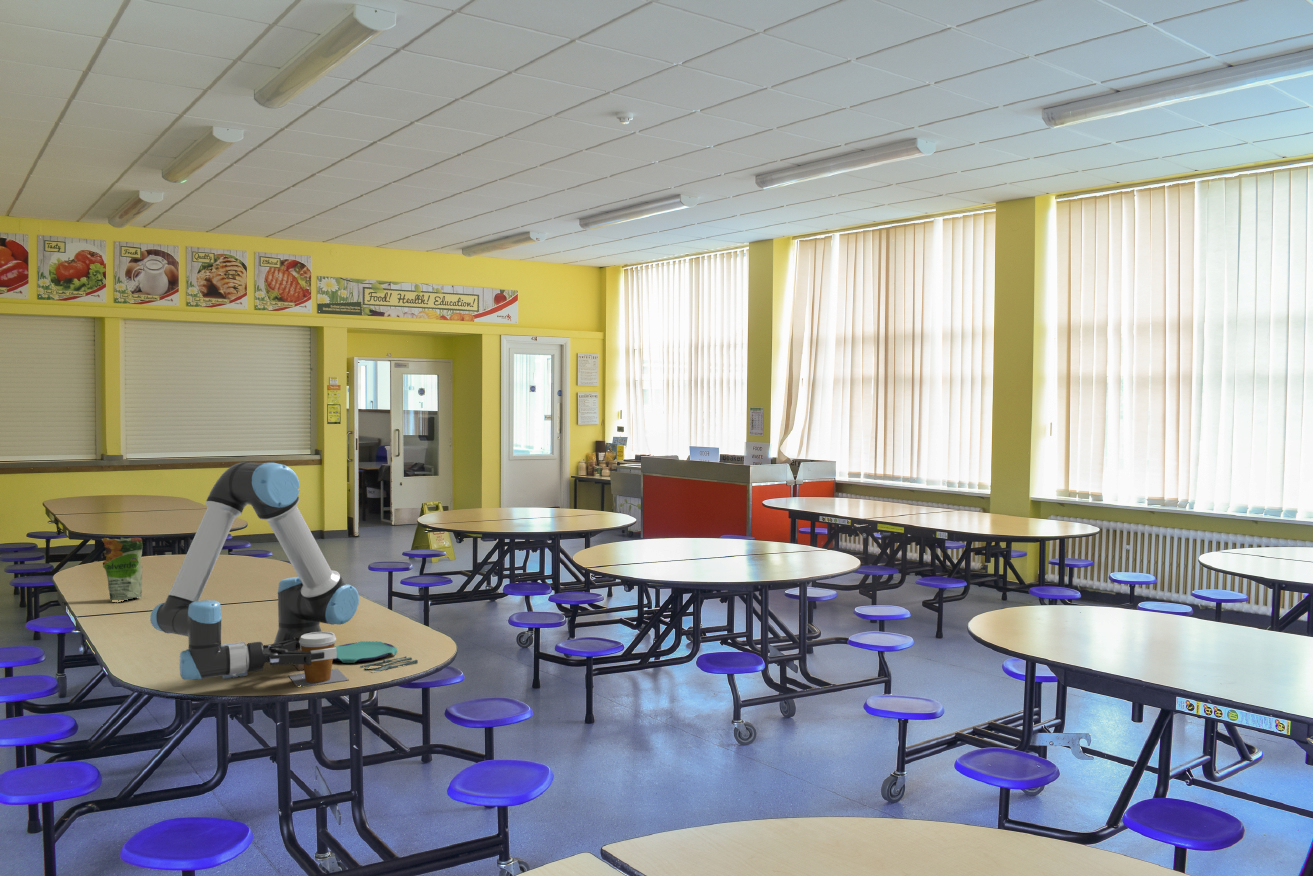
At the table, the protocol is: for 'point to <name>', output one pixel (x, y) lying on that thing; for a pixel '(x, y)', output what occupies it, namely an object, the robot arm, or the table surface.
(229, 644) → the slate block
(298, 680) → the mat
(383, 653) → the cutlery set
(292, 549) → the robot arm
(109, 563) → the pouch
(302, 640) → the disposable coffee cup
